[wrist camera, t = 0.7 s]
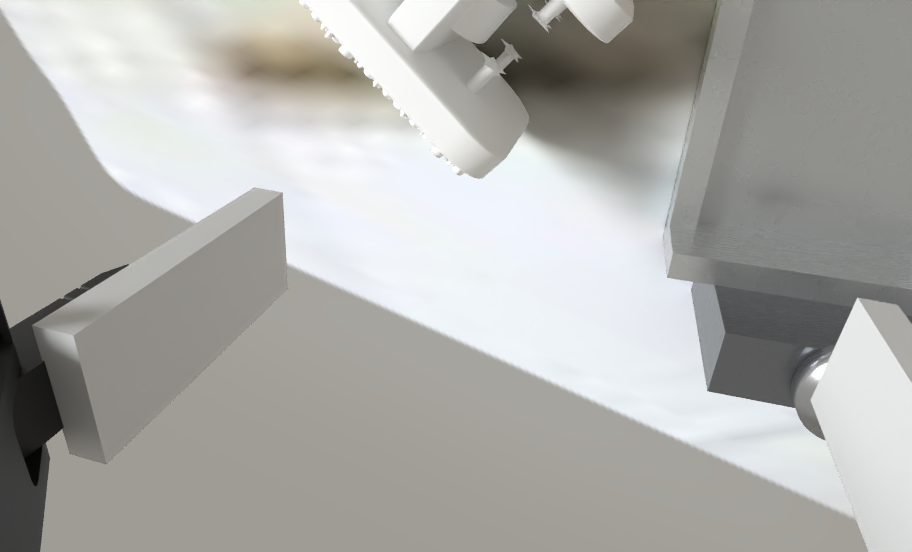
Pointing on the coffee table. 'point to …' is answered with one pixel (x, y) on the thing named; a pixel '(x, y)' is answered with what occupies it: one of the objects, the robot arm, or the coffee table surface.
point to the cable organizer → (451, 65)
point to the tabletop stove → (794, 188)
